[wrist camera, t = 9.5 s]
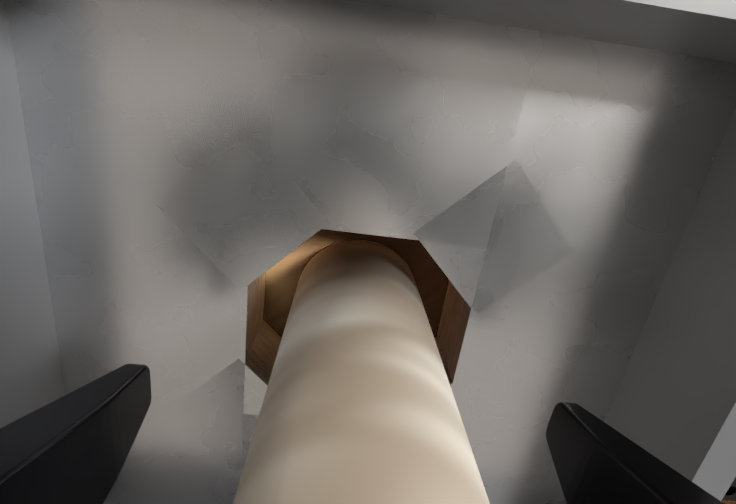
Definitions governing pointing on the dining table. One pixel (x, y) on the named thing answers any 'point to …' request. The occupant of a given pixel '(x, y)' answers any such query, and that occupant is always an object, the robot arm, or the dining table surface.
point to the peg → (359, 395)
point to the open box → (663, 325)
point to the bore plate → (351, 204)
